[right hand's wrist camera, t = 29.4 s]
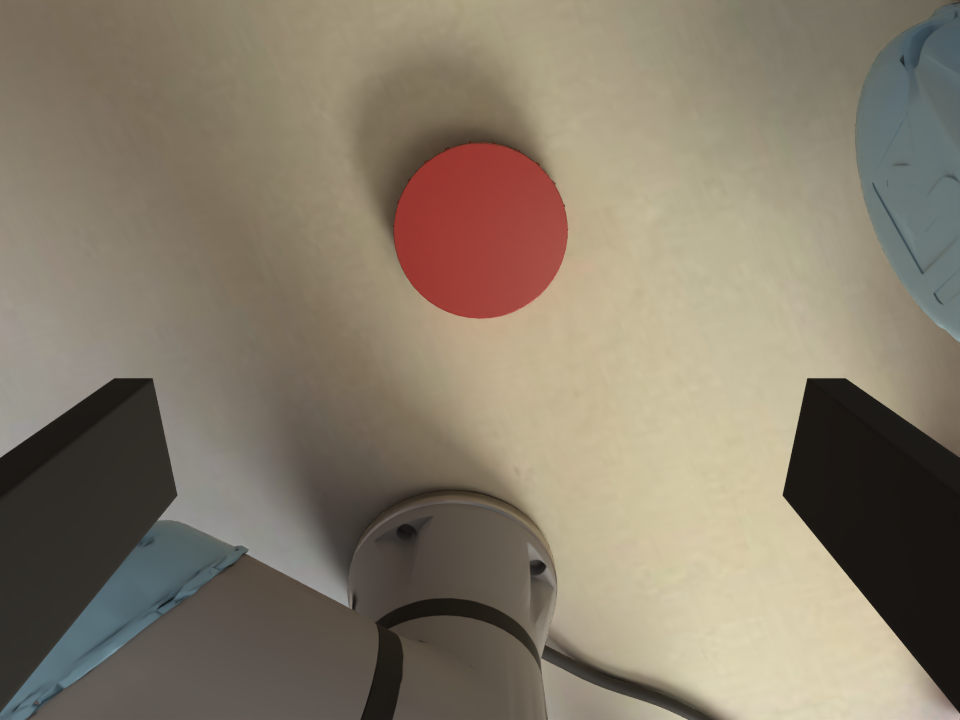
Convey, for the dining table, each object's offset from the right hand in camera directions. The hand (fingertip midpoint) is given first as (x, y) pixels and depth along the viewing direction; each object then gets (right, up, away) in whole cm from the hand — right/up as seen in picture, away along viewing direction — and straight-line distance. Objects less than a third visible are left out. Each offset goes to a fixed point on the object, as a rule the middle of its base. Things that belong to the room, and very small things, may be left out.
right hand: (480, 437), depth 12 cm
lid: (0, +9, +22) cm, 24 cm away
